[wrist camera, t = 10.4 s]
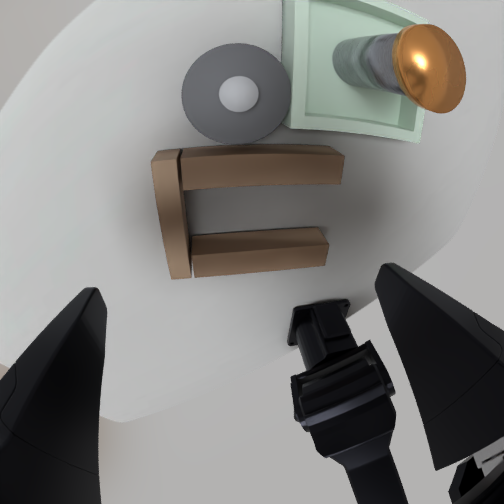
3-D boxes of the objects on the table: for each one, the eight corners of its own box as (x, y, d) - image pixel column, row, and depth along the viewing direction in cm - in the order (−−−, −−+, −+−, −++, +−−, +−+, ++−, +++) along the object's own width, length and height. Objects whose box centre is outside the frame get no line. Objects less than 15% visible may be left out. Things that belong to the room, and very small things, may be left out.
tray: (399, 134, 18) (419, 143, 15) (279, 121, 16) (290, 128, 14) (407, 22, 12) (429, 21, 10) (282, -13, 10) (294, -25, 8)
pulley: (278, 135, 17) (292, 147, 14) (186, 139, 16) (183, 151, 13) (281, 50, 13) (297, 45, 11) (184, 51, 12) (179, 44, 10)
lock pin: (378, 98, 15) (459, 123, 9) (323, 85, 14) (397, 98, 8) (384, 44, 13) (468, 48, 6) (329, 26, 12) (405, 8, 6)
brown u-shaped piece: (314, 247, 23) (324, 265, 21) (173, 258, 21) (171, 279, 19) (328, 146, 18) (344, 155, 16) (157, 151, 16) (150, 161, 14)
